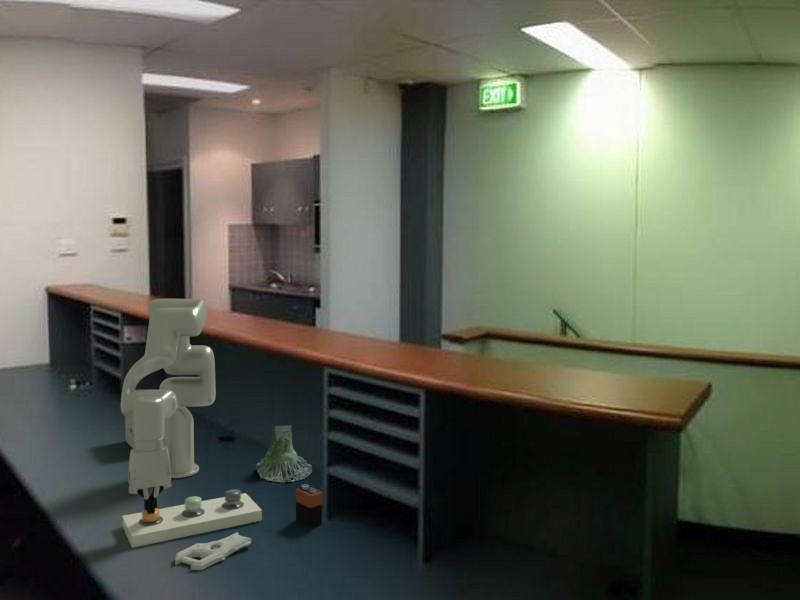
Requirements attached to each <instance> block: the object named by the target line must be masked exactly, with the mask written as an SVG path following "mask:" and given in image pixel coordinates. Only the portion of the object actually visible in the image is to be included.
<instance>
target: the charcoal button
mask: <svg viewBox="0 0 800 600" xmlns="http://www.w3.org/2000/svg"><path fill="white" fill-rule="evenodd" d="M241 494H242V491H241V490H240V489H238V488H237V489H236V488H235V489H234V488H233V489H228V490H225V491H224V497H225V501H226V502H237V501H239V500H241Z"/></svg>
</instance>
